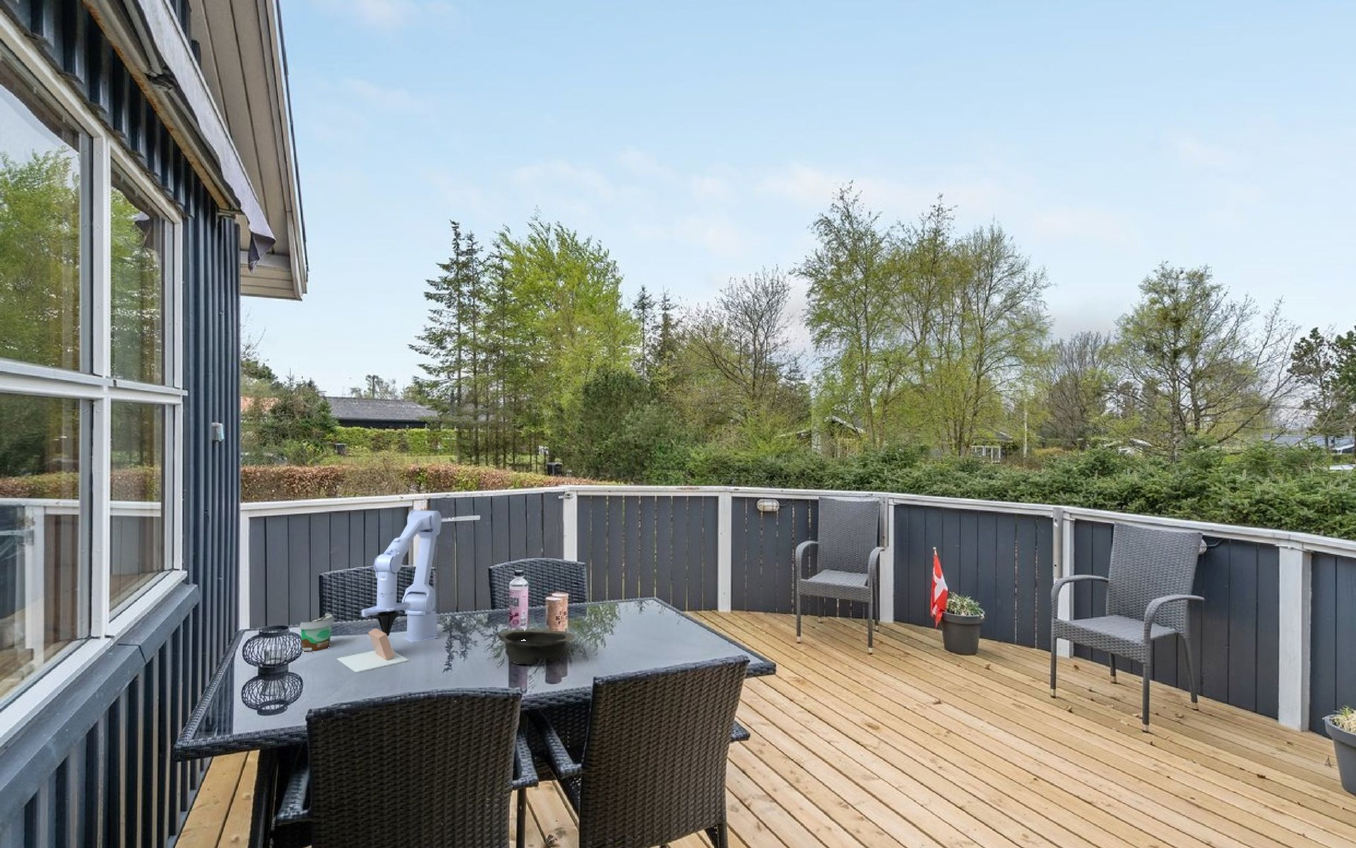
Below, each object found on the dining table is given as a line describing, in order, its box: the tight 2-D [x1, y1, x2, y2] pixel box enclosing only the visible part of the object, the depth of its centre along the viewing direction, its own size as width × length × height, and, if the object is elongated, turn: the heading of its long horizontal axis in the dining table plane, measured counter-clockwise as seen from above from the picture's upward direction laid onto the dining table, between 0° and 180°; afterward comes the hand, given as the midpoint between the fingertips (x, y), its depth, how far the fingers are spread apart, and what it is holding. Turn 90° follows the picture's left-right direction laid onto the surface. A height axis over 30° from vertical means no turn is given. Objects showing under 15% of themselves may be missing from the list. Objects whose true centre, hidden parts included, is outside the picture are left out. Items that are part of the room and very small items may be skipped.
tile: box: [368, 628, 394, 660], centre depth 217 cm, size 3×8×8 cm, turn 45°
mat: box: [334, 648, 411, 674], centre depth 215 cm, size 16×18×1 cm
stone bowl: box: [496, 628, 576, 665], centre depth 222 cm, size 25×25×9 cm
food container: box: [299, 612, 335, 653], centre depth 225 cm, size 12×6×10 cm, turn 168°
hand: (385, 635), depth 218 cm, fingers closed
